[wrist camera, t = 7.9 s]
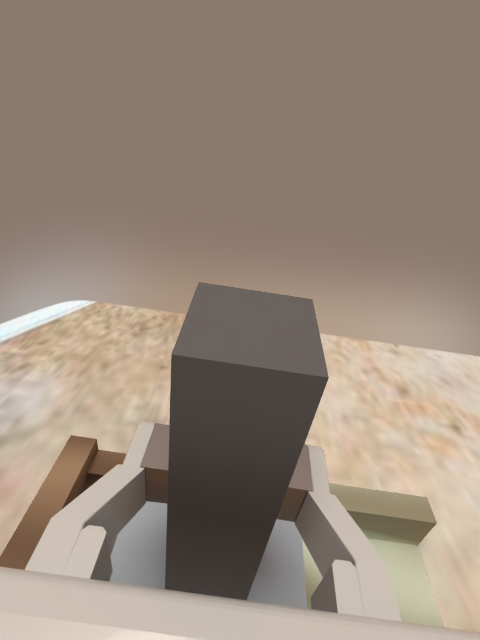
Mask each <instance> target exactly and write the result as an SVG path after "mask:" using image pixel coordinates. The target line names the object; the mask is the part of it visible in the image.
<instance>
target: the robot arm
mask: <svg viewBox="0 0 480 640" xmlns="http://www.w3.org/2000/svg"><path fill="white" fill-rule="evenodd" d="M169 429H170V425H164V424H158V423H152V422H145V421H141V422H140V423H139V425H138V427H137V429H136V432H135V434H134V437H133V439H132V442H131V444H130V447H129V449H128V452H127V454H126V457H125V460H124V462H123V465H121V464H118V465H116V466H115V467H114V468H113V469H111V470H110V471H109V472H108V473H106V474H105V475H104V476H103V477H101V478H100V479H99V480H98V481H97V482H95V483H94V484H93V485H92V486H90V487H89V488H88V489H87V490H85V491H84V492H83V493H82V494H80V495H79V496H78V497H77V498H75V499H74V500H73V501H72V502H71V503H69V504H68V505H67V506H66V507H64V508H63V509H62V510H61V511H59V512H58V513H57V514H56V515H54V516H53V517H52V518H51V519H50V521H49V523H48V525H47V527H46V529H45V531H44V533H43V535H42V537H41V539H40V541H39V543H38V545H37V547H36V548H35V550H34V552H33V554H32V556H31V558H30V560H29V562H28V564H27V566H26V568H25V570H22V569H14V568H7V567H0V640H480V632H474V631H466V630H459V629H452V628H445V627H437V626H430V625H423V624H415V623H408V622H402V621H401V617H400V613H399V609H398V605H397V601H396V597H395V593H394V589H393V585H392V581H391V577H390V573H389V569H388V565H387V564H386V563H385V561H384V560H383V559H382V557H381V556H380V555H379V553H378V552H377V551H376V549H375V548H374V547H373V545H372V544H371V543H370V541H369V540H368V539H367V537H366V536H365V535H364V533H363V532H362V531H361V529H360V528H359V527H358V525H357V524H356V523H355V521H354V520H353V519H352V517H351V516H350V515H349V513H348V512H347V511H346V509H345V508H344V507H343V505H342V504H341V502H340V501H339V500H338V498H337V497H336V496H335V495H332V494H330V489H329V482H328V476H327V470H326V463H325V457H324V451H323V449H322V447H319V446H311V445H306V444H304V446H303V448H302V451H301V454H300V457H299V459H298V462H297V465H296V467H295V470H294V473H293V476H292V478H291V481H290V484H289V486H288V489H287V492H286V495H285V497H284V500H283V503H282V505H281V508H280V511H279V514H278V516H277V519H279V520H285V521H291V522H295V523H294V524H295V526H296V528H297V529H298V531H299V533H300V535H301V537H302V539H303V541H304V543H305V545H306V547H307V548H308V550H309V552H310V554H311V556H312V558H313V560H314V562H315V564H316V566H317V567H318V569H319V571H320V573H321V575H322V577H323V579H322V580H321V582H320V584H319V585H318V587H317V588H316V590H315V591H314V593H313V594H312V596H311V609H306V608H299V607H292V606H284V605H277V604H270V603H263V602H255V601H248V600H241V599H233V598H226V597H219V596H212V595H204V594H197V593H190V592H182V591H175V590H168V589H161V588H153V587H146V586H139V585H131V584H124V583H117V582H109V581H110V578H111V575H112V572H113V569H112V563H111V557H110V551H109V545H108V544H109V543H110V542H111V541H112V540H113V539H114V538H115V537H116V536H117V535H118V533H119V532H120V531H121V530H122V529H123V528H124V527H125V526H126V525H127V524H128V522H129V521H130V520H131V519H132V518H133V517H134V516H135V515H136V514H137V513H138V512H139V510H140V509H141V508H142V507H143V506H144V505H145V504H146V501H147V502H156V503H165V504H167V498H168V463H169Z"/></svg>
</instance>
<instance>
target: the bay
mask: <svg viewBox="0 0 480 640" xmlns="http://www.w3.org/2000/svg"><path fill="white" fill-rule="evenodd" d="M125 457H126V454H124V453H117V452H110V451H103V450H98V445H97V439H92V438H85V437H78V436H70V438H69V440H68V441H67V443H66V445H65V447H64V448H63V450H62V452H61V453H60V455H59V457H58V459H57V460H56V462H55V464H54V465H53V467H52V469H51V471H50V472H49V474H48V476H47V477H46V479H45V481H44V483H43V484H42V486H41V488H40V489H39V491H38V493H37V495H36V496H35V498H34V500H33V501H32V503H31V505H30V507H29V508H28V510H27V512H26V513H25V515H24V517H23V519H22V520H21V522H20V524H19V525H18V527H17V529H16V531H15V532H14V534H13V536H12V537H11V539H10V541H9V543H8V544H7V546H6V548H5V549H4V551H3V553H2V555H1V556H0V567H7V568H14V569H22V570H25V568H26V566H27V564H28V562H29V560H30V558H31V556H32V554H33V552H34V550H35V548H36V547H37V545H38V543H39V541H40V539H41V537H42V535H43V533H44V531H45V529H46V527H47V525H48V523H49V521H50V519H51V518H52V517H53V516H54V515H56V514H57V513H58V512H59V511H61V510H62V509H63V508H64V507H66V506H67V505H68V504H69V503H71V502H72V501H73V500H74V499H75V498H77V497H78V496H79V495H80V494H82V493H83V492H84V491H85V490H87V489H88V488H89V487H90V486H92V485H93V484H94V483H95V482H97V481H98V480H99V479H100V478H101V477H103V476H104V475H105V474H106V473H108V472H109V471H110V470H111V469H113V468H114V467H115V466H116V465H118V464H121V465H123V462H124V460H125ZM329 489H330V494H332V495H335V496H336V497H337V498H338V500H339V501H340V502H341V504H342V505H343V507H344V508H345V509H346V511H347V512H348V513H349V515H350V516H351V517H352V519H353V520H354V521H355V523H356V524H357V525H358V527H359V528H360V529H361V531H362V532H363V533H364V535H365V536H366V537H367V539H368V540H369V541H370V543H371V544H372V545H373V547H374V548H375V549H376V551H377V552H378V553H379V555H380V556H381V557H382V559H383V560H384V561H385V563H386V564H387V565H388V569H389V573H390V577H391V581H392V585H393V589H394V593H395V597H396V601H397V605H398V609H399V613H400V617H401V621H402V622H408V623H415V624H423V625H430V626H437V627H444V625H443V622H442V619H441V616H440V613H439V610H438V607H437V604H436V601H435V598H434V595H433V592H432V589H431V586H430V583H429V580H428V577H427V574H426V570H425V567H424V564H423V561H422V558H421V555H420V552H419V549H418V546H417V545H418V544H419V543H420V542H421V541H422V539H423V538H424V537H425V536H426V535H427V534H428V533H429V531H430V530H431V529H432V528H433V527H434V526H435V525H436V523H437V522H436V520H435V517H434V515H433V512H432V509H431V507H430V504H429V502H428V499H427V497H420V496H413V495H406V494H399V493H393V492H386V491H379V490H372V489H365V488H358V487H351V486H344V485H337V484H330V483H329ZM117 536H118V535H117ZM117 536H116V537H115V538H114V539H113V540H112V541H111V542H110V543H109V544H108V545H109V551H110V556H111V553H112V551H113V548H114V545H115V542H116V539H117ZM302 544H303V558H304V571H305V585H306V599H307V609H311V596H312V594H313V593H314V591H315V590H316V588H317V587H318V585H319V584H320V582H321V580H322V579H323V577H322V575H321V573H320V571H319V569H318V567H317V566H316V564H315V562H314V560H313V558H312V556H311V554H310V552H309V550H308V548H307V547H306V545H305V543H304V541H303V539H302Z"/></svg>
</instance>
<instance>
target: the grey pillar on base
mask: <svg viewBox="0 0 480 640" xmlns="http://www.w3.org/2000/svg"><path fill="white" fill-rule="evenodd" d="M328 378H329V377H328V372H327V368H326V363H325V358H324V353H323V348H322V344H321V339H320V334H319V329H318V324H317V320H316V315H315V310H314V305H313V300H312V299H306V298H299V297H293V296H287V295H279V294H273V293H267V292H260V291H253V290H247V289H240V288H234V287H227V286H220V285H213V284H207V283H201V282H199V284H198V286H197V289H196V291H195V294H194V296H193V299H192V302H191V305H190V307H189V310H188V312H187V315H186V318H185V320H184V323H183V326H182V328H181V331H180V334H179V336H178V339H177V341H176V344H175V347H174V349H173V352H172V359H171V394H170V429H169V463H168V498H167V504H165V503H156V502H147V501H146V504H145V505H144V506H143V507H142V508H141V509H140V510H139V512H138V513H137V514H136V515H135V516H134V517H133V518H132V519H131V520H130V521H129V522H128V524H127V525H126V526H125V527H124V528H123V529H122V530H121V531H120V532H119V533H118V536H117V539H116V542H115V545H114V548H113V551H112V553H111V556H110V557H111V563H112V569H113V572H112V575H111V578H110V581H109V582H117V583H124V584H131V585H139V586H146V587H153V588H161V589H168V590H175V591H182V592H190V593H197V594H204V595H212V596H219V597H226V598H233V599H241V600H248V601H255V602H263V603H270V604H277V605H284V606H292V607H299V608H306V609H307V599H306V585H305V571H304V558H303V544H302V537H301V535H300V533H299V531H298V529H297V528H296V526H295V524H294V523H295V522H291V521H285V520H279V519H277V516H278V514H279V511H280V508H281V505H282V503H283V500H284V497H285V495H286V492H287V489H288V486H289V484H290V481H291V478H292V476H293V473H294V470H295V467H296V465H297V462H298V459H299V457H300V454H301V451H302V448H303V446H304V443H305V440H306V438H307V435H308V432H309V429H310V427H311V424H312V421H313V419H314V416H315V413H316V410H317V408H318V405H319V402H320V400H321V397H322V394H323V391H324V389H325V386H326V383H327V381H328Z"/></svg>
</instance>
